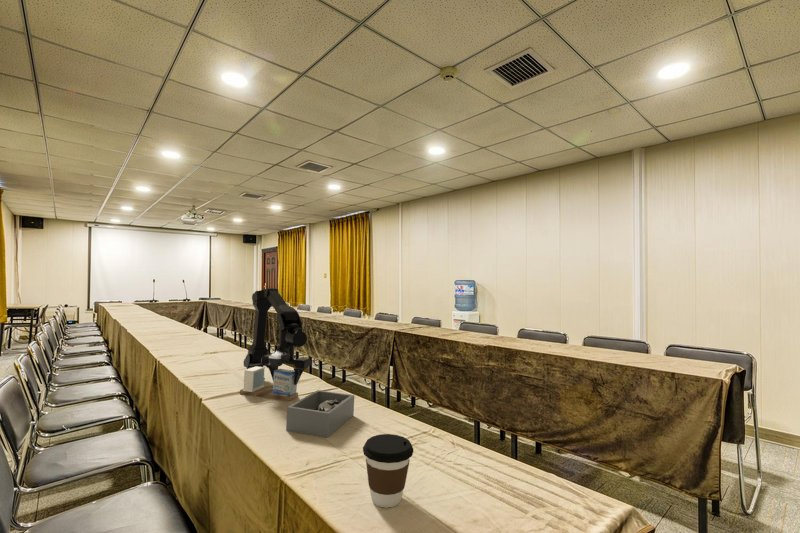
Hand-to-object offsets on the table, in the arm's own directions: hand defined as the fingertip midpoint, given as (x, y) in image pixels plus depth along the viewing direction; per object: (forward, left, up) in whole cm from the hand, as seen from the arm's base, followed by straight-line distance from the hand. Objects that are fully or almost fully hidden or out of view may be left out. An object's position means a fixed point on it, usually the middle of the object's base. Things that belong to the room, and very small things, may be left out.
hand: (285, 383), depth 146 cm
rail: (-7, 0, -5) cm, 9 cm away
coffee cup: (+58, -50, -6) cm, 77 cm away
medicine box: (0, 0, -4) cm, 4 cm away
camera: (+27, -19, -6) cm, 33 cm away
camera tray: (+25, -17, -5) cm, 31 cm away
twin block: (-14, 0, -4) cm, 15 cm away
